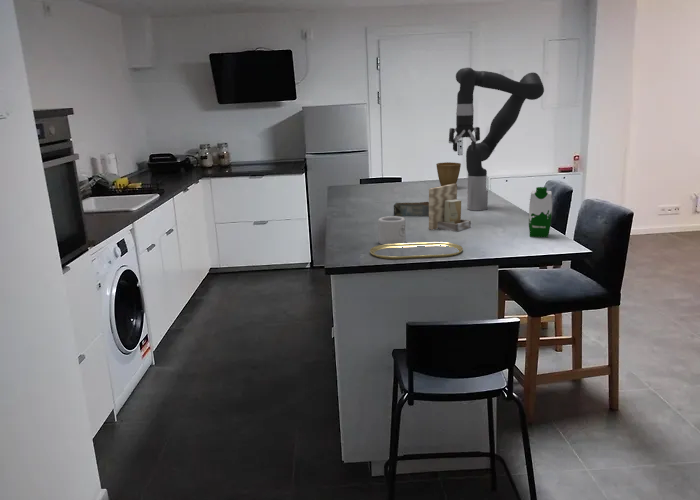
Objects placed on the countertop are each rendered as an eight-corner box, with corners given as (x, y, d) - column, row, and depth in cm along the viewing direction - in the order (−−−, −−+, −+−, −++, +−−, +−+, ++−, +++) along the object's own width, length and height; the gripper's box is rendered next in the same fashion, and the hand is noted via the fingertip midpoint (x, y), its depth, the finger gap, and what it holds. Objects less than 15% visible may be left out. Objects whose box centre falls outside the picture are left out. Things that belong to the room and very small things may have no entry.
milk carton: (527, 237, 238) (529, 188, 233) (528, 232, 246) (530, 185, 241) (550, 238, 235) (553, 188, 230) (550, 233, 243) (553, 185, 238)
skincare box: (449, 229, 256) (450, 201, 253) (443, 227, 260) (443, 200, 257) (461, 227, 259) (461, 200, 256) (455, 225, 263) (455, 198, 260)
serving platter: (367, 248, 229) (367, 244, 229) (456, 245, 231) (456, 241, 231) (372, 261, 211) (372, 257, 211) (468, 257, 213) (468, 253, 213)
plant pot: (431, 189, 365) (431, 164, 361) (446, 186, 375) (446, 161, 371) (450, 192, 355) (450, 165, 351) (465, 189, 364) (465, 163, 360)
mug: (397, 247, 229) (397, 222, 227) (373, 244, 235) (373, 219, 232) (413, 239, 240) (412, 215, 238) (389, 237, 246) (389, 213, 244)
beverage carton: (395, 213, 295) (395, 200, 294) (433, 214, 292) (433, 201, 290) (393, 216, 288) (393, 203, 286) (432, 217, 284) (432, 204, 283)
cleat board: (452, 222, 270) (453, 183, 265) (475, 225, 261) (476, 185, 257) (428, 229, 258) (428, 188, 253) (451, 233, 249) (452, 191, 245)
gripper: (453, 115, 257) (453, 152, 261) (483, 113, 261) (482, 150, 265) (446, 114, 264) (446, 151, 268) (475, 113, 268) (474, 149, 272)
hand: (464, 150), depth 267 cm, fingers open, 8 cm apart
